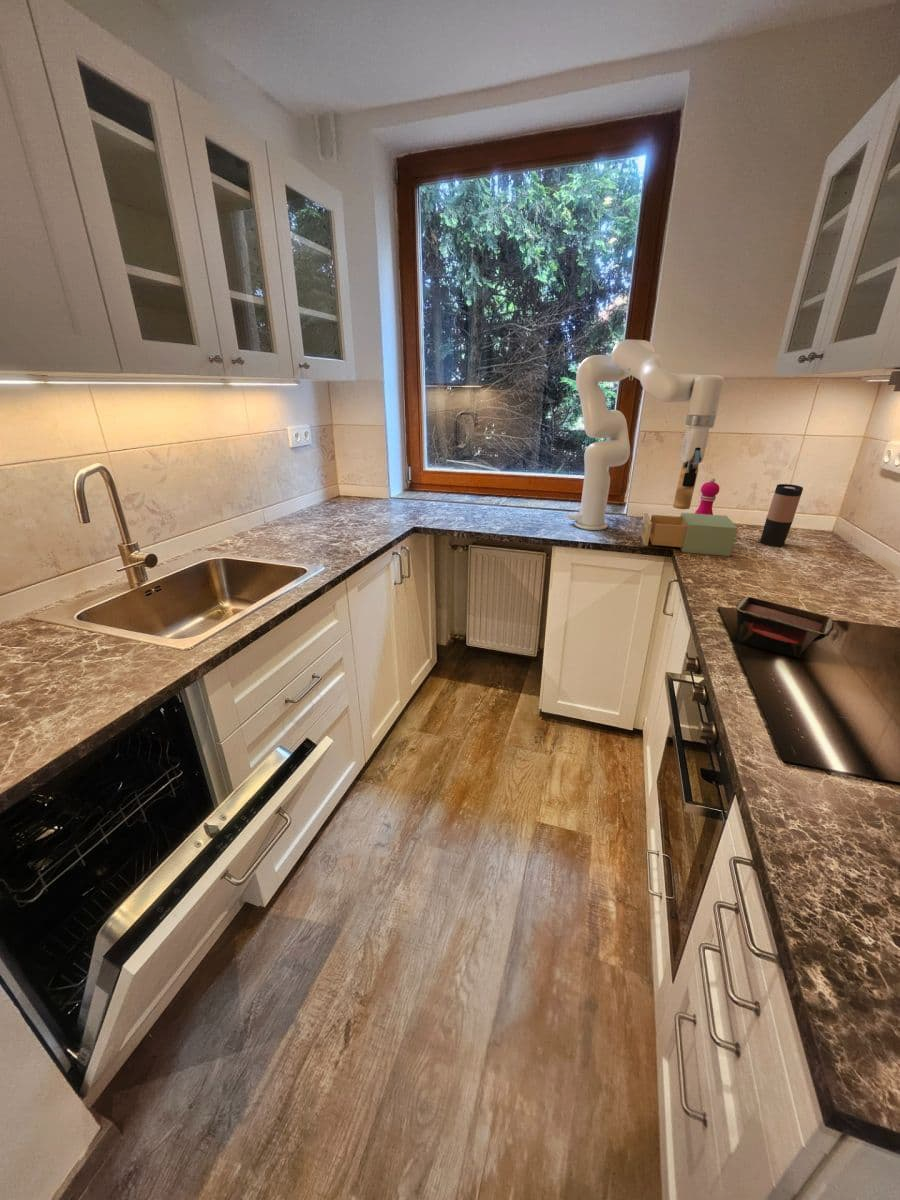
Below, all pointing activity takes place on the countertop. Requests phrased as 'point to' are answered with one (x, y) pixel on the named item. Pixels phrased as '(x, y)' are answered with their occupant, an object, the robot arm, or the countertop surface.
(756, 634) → the baking dish
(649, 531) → the drawer
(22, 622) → the countertop surface
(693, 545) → the cabinet
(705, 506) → the pepper mill
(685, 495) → the cork textured cylinder
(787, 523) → the travel mug
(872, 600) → the countertop surface
